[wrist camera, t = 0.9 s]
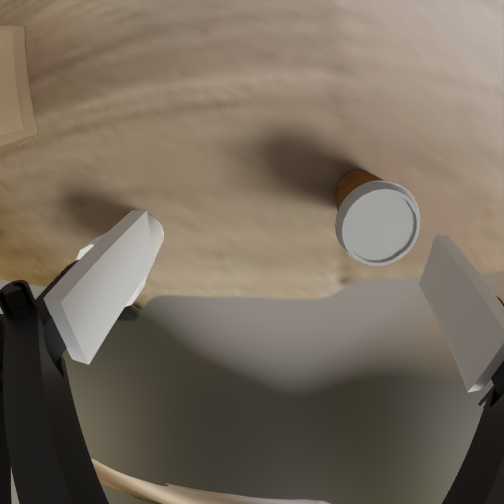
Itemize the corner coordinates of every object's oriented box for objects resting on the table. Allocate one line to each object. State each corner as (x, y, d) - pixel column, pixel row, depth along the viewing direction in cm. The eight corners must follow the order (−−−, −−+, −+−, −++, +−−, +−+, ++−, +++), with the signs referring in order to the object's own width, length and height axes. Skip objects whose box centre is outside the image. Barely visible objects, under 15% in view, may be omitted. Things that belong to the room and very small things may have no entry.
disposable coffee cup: (346, 144, 36) (370, 165, 26) (402, 181, 37) (439, 214, 27) (311, 204, 41) (319, 245, 30) (367, 235, 42) (389, 282, 31)
